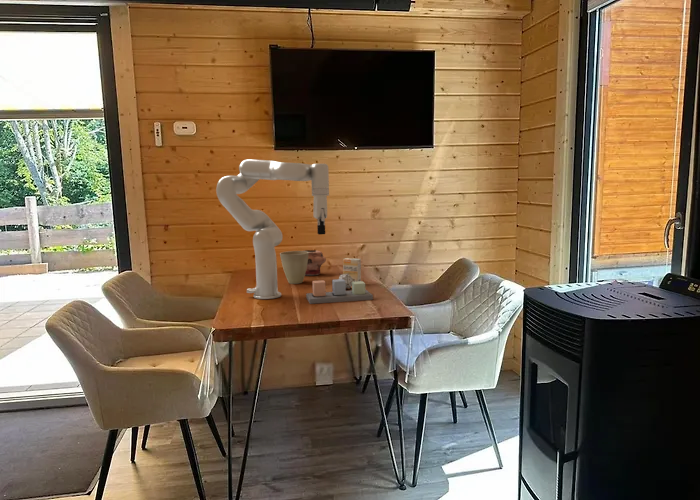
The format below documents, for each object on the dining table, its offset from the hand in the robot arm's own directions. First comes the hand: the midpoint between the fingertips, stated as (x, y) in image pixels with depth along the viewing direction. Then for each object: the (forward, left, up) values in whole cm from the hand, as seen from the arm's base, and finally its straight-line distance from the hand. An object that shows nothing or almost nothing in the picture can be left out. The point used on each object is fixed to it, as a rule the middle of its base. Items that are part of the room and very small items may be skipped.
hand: (321, 234), depth 217 cm
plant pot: (-8, +41, -29) cm, 51 cm away
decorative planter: (+2, +62, -29) cm, 69 cm away
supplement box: (+20, +29, -29) cm, 46 cm away
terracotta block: (-2, -2, -27) cm, 27 cm away
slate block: (+7, -2, -27) cm, 28 cm away
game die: (+14, +17, -29) cm, 37 cm away
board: (+7, -2, -29) cm, 30 cm away
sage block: (+16, -2, -28) cm, 33 cm away
